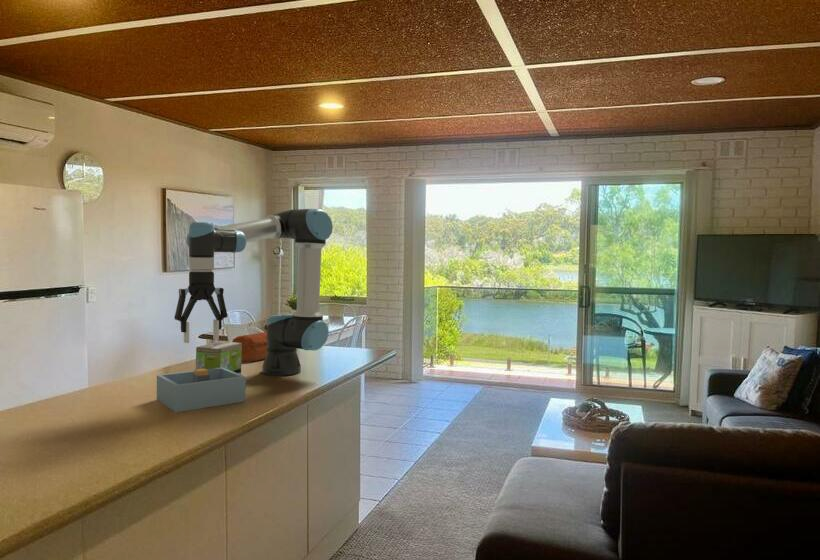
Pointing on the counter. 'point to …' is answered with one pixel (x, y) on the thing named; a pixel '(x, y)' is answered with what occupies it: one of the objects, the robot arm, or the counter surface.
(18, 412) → the counter surface
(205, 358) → the tea box
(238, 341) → the bread
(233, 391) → the walled box
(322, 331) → the robot arm
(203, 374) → the block
